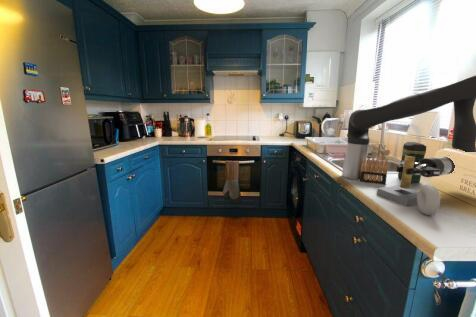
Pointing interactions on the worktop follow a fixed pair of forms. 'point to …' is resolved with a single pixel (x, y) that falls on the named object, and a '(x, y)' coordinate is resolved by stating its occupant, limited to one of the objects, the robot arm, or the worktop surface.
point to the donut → (428, 199)
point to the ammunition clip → (376, 172)
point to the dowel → (405, 178)
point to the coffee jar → (414, 151)
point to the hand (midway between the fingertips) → (402, 170)
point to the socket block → (399, 195)
